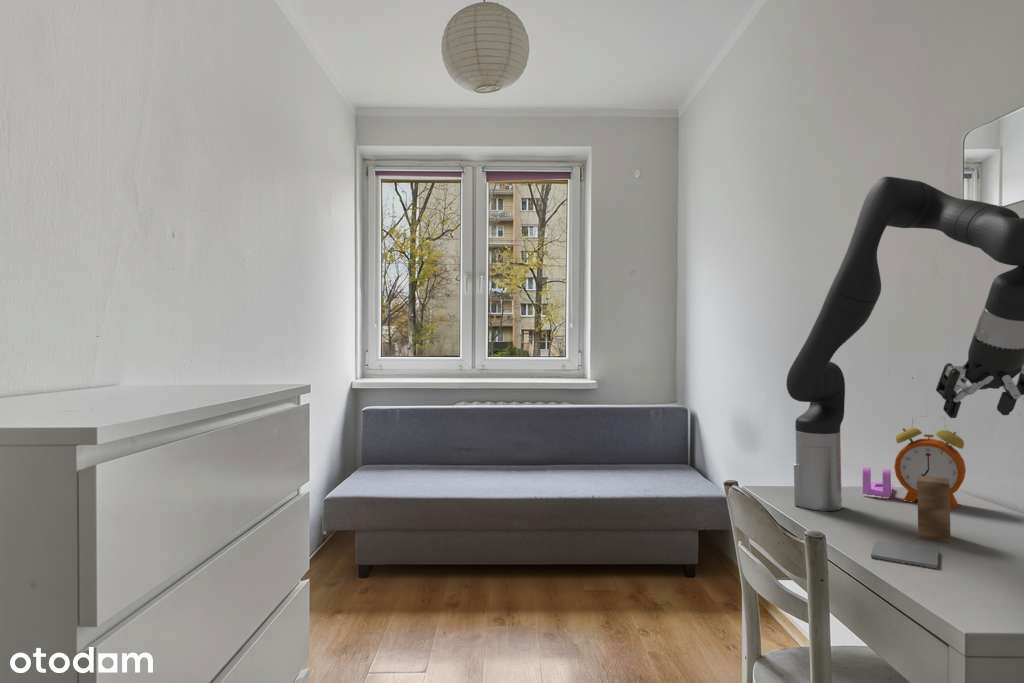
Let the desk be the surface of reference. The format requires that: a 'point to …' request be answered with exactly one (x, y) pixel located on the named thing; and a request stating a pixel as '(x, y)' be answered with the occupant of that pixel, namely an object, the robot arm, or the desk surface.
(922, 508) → the walnut block
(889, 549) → the slate pad
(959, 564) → the desk surface
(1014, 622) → the desk surface
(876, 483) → the bracket
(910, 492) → the alarm clock
